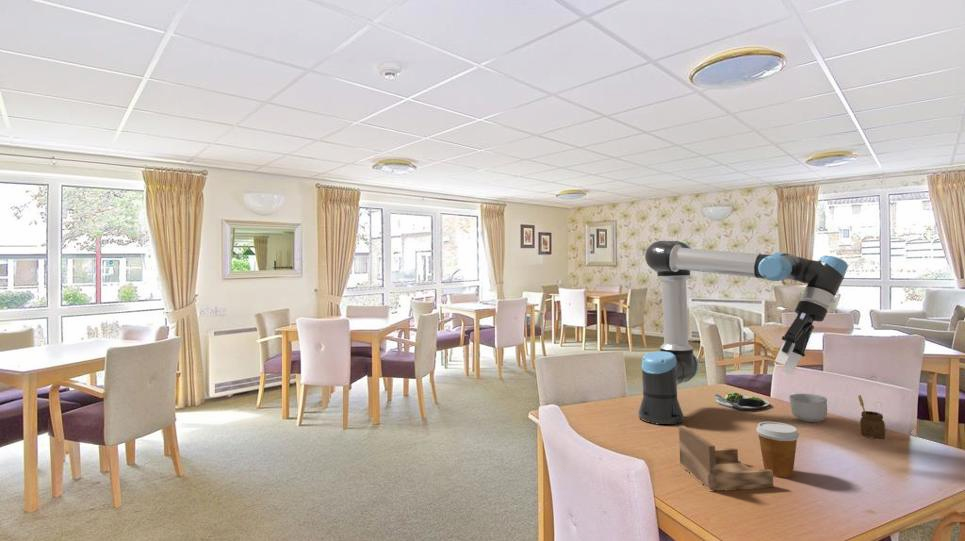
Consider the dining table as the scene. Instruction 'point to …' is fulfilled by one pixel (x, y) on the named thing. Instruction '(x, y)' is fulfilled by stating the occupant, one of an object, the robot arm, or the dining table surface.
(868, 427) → the utensil holder
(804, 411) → the teacup
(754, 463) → the dining table surface
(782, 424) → the disposable coffee cup
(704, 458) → the cradle
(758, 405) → the salad plate
